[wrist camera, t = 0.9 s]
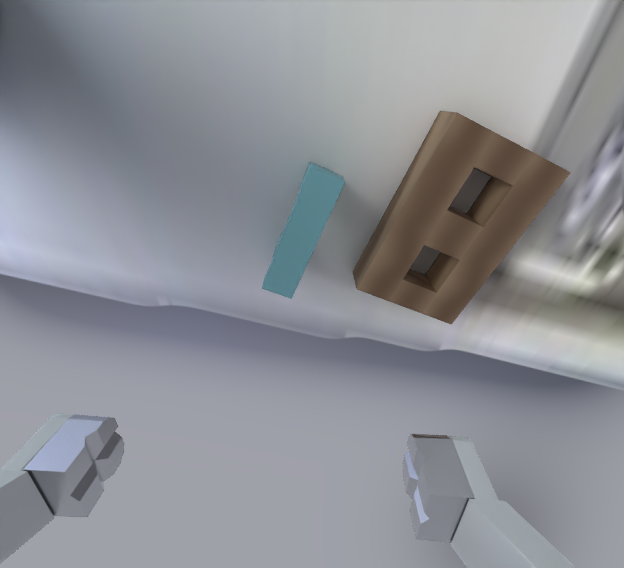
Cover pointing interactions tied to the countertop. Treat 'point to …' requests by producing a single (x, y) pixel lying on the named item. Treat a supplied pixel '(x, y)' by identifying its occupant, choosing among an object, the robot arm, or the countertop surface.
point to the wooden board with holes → (454, 217)
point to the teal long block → (303, 229)
